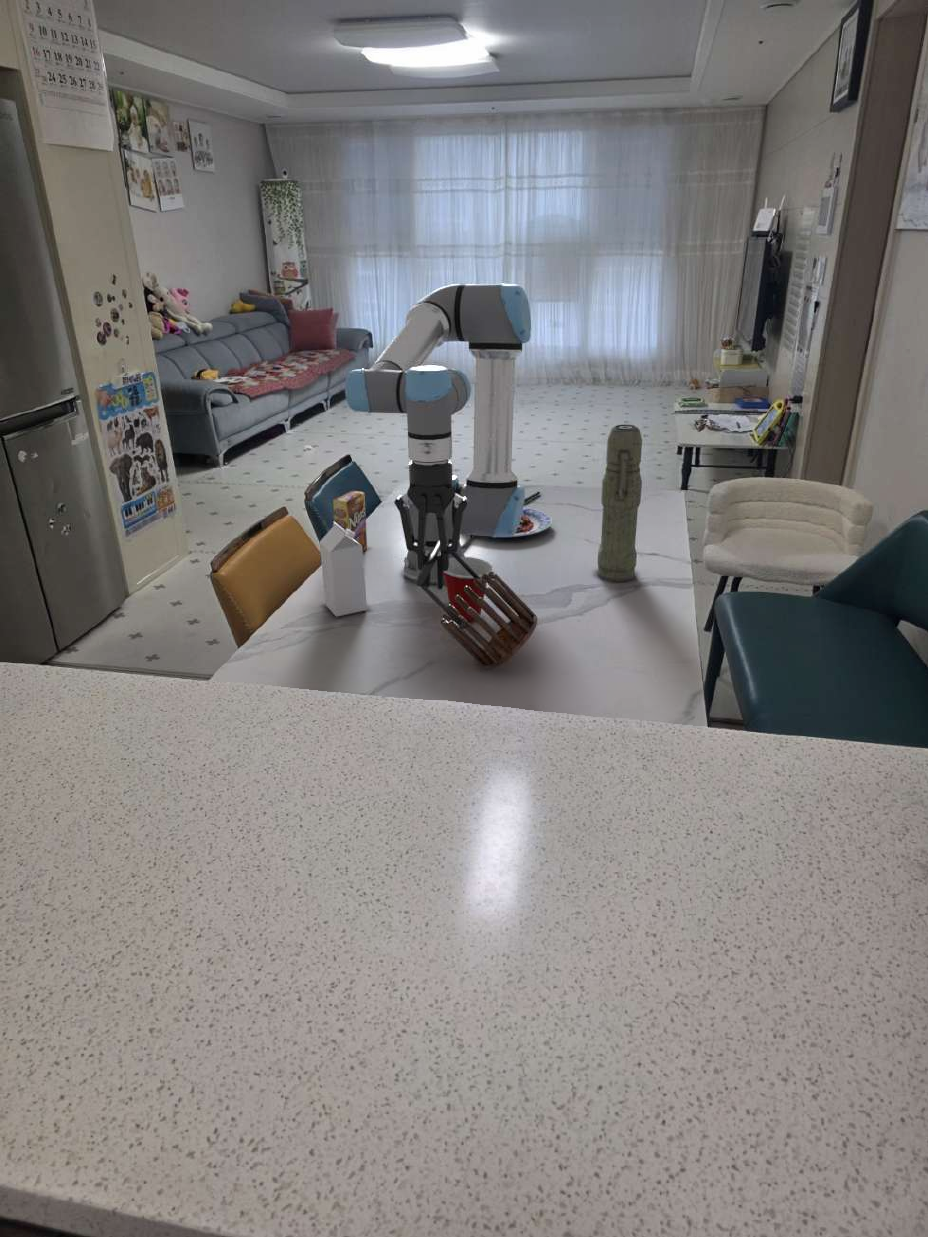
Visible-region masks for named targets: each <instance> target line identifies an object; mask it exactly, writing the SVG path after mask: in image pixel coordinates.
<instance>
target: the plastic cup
mask: <svg viewBox="0 0 928 1237" xmlns="http://www.w3.org/2000/svg"><path fill="white" fill-rule="evenodd" d="M461 558H462V559H463V560H464V561H465V562H466V563H467V565H468V566H469V567H470V568H471V569H472V570H473V571H474V572H475V573H476V574H477V575H478V576H479V577H480V578H481V579H483V578H482V575H483V574H484V573H487V574H488V573H489V572H490V571H493V565H492V564H490V563H489V561H485V560H483V559H482V558H477V557H471V556H465V557H461ZM444 578H445V582H446V583H445V586H446V593H447V597H448V598H447V599H448V603H449V605H452V606H453V607H454V608H455V609H456V610H457V611H458V612H459V613H460V614H461V615H462V616H463V617H464V618H465V619H466V620H467V621H468V622H469V623H474V622H476V621H475V620H474V619H473V618H472V617H471V616H470V615H469V614H468V613H467V612H466V611H465V610H464V609H463V608H462V606H461V605H460V604H459V603H458V602H457V601H456V600H455V596H456V595H459V596H460V597H461V598H462V599H463V600H464V601H465V602H466V603H467V604H468V605H469V606H470V607H471V608H473V609H474V610H475V611H476V612H477V613H478V614H479V615H480V616H481V614H482V608H481V607H480V606H479V605H478V604H477V603H476V602H475V601H474V600H473V599H472V598H471V597H470V596H469V595H468V594H467V593H466V592H465V591H464V587H465V586H469V587H470V588H471V589H472V590H473V591H474V592H475V593H476V594H477V595H478V596H479V597H481V598H483V599H484V598H485V594H484V593H483V592H482V591H481V590H480V589H479V588H478V587H477V586H476V585H475V584H474V578H473V577H472V575H471V574H470V573H469V572H468V571H467V570H466V569H465V568H464V567H463V566H462V565H461V564H460V563H459V562H458V561H457V560H456V559H455V558H450V559H449V568H448V570H447V571H444ZM483 580H484V579H483ZM484 581H485V580H484ZM487 584H488V583H487V582H486V581H485V586H486V587H487ZM484 600H485V599H484Z"/></svg>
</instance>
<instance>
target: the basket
mask: <svg viewBox="0 0 928 1237" xmlns="http://www.w3.org/2000/svg"><path fill="white" fill-rule="evenodd" d="M439 551H441V549H440V541H439V540H438V542H437V544H436V546H435V548H434V549H433V551H432V553H431V555H430V557H429V558H428V560H427V562H426V564H425V566H424V567H423V569H422V571H421V573H420V575H419V576H418V578H417V580H416V582H415V586H416V587H419V588H420V589H422V591H424V593H426V595H427V596H429V597H430V599H431V600H432V601H433V602H435V604H436V605H438V607H439V608H441V610H443V613H442V614H441V619H440V621H439V623H440V625H441V627H442V628H443V629H444V630H445V631H446V632H447V633H448V634H449V635H450V636H451V637H452V638H453V639H454V640H455V641H456V642H457V643H458V644H459V645H460V646H461V647H462V648H463V649H464V650H465V651H466V652H467V653H468V654H470V656H471V657H472V658H473V659H474V660H475V661H476V662H477V663H478V664H479V665H480V666H481V667H483V669H487V670H489V669H493V668H496V667H498V666H500V665H502V664H503V663H505V662H506V661H508V660H509V659H511V658H512V657H513V656H514V655H515V654H516V653H517V652H518V651H519V650H520V649H522V647H524V645H525V644H526V643H527V642H528V640H530V638H531V636H532V635H533V633H534V631H535V630H536V627H537V625H538V616H537V615H536V614H535V612H534V611H533V610H531V608H530V607H529V606H528V605H527V604H526V602H524V601H523V600H522V599H521V598H520V597H519V596H518V595H517V594H516V593H515V591H514V590H513V589H512V588H510V586H509V585H508V584H507V583H506V582H505V581H504V580H503V579H502V578H501V577H500V576H499V575H498V573H495V571H494V570H492V571H490V572H489V573H488V574H487V573H484V574H483V575H482V578H483V579H484V580H485V581H486V582H487V583H486V584H487V585H488V586H489V587H487V585H486V586H485V581H484V580H483V579H481V578H480V577H479V576H478V575H477V574H476V573H475V572H474V571H473V570H472V569H471V568H470V567H469V566H468V565H467V563H466V562H465V561H464V560H463V559H462V558H461V557H460V556H459V555H458V554H457V553H456V552H451V553H450V554H451V555H452V556H453V557H454V558H455V559H456V560H457V561H458V562H459V563H460V564H461V565H462V566H463V567H464V568H465V569H466V570H467V571H468V572H469V573H470V574H471V575H472V577H473V578H474V584H475V585H476V586H477V587H478V588H479V589H480V590H481V591H482V592H483V593H484V596H486V597H487V599H489V601H490V602H492V604H493V605H494V606H495V607H496V608H497V609H498V610H499V611H500V612H501V613H502V614H503V615H504V616H505V617H506V618H507V619H508V620H509V621H508V622H506V620H505V619H504V618H503V617H502V616H500V614H499V613H498V612H497V611H496V610H495V609H494V608H493V607H492V606H491V605H490V604H489V603H488V602H487V601H486V600H485V599H483V598H481V597H479V596H478V595H477V594H476V593H475V592H474V591H473V590H472V589H471V588H470V587H469V586H465V587H464V591H465V592H466V593H467V594H468V595H469V596H470V597H471V598H472V599H473V600H474V601H475V602H476V603H477V604H478V605H479V606H480V607H481V610H482V611H483V612H484V613H485V614H486V615H487V616H488V617H489V618H490V619H491V620H492V621H493V622H494V623H495V624H496V625H497V626H498V627H499V628H500V629H499V630H497V631H496V630H495V629H494V628H493V627H492V626H491V625H490V624H489V623H488V622H487V621H486V620H485V619H484V618H483V617H482V616H481V614H480V615H479V614H478V613H477V612H476V611H475V610H474V609H473V608H471V607H470V606H469V605H468V604H467V603H466V602H465V601H464V600H463V599H462V598H461V597H460V596H459V595H456V596H455V600H456V601H457V602H458V603H459V604H460V605H461V606H462V608H463V609H464V610H465V611H466V612H467V613H468V614H469V615H470V616H471V617H472V618H473V619H474V620H475V621H474V622H476V623H477V624H478V625H479V626H480V627H481V629H483V630H484V631H485V632H486V633H487V635H489V637H491V639H489V641H488V640H487V639H486V638H485V637H484V636H483V635H482V634H481V633H480V632H479V631H478V630H477V629H476V628H475V627H474V625H472V623H471V622H468V621H467V620H466V619H465V618H464V617H463V616H462V615H461V614H460V613H459V612H458V611H457V610H456V609H455V608H454V607H453V606H452V605H450V604H448V605H447V604H445V603H444V602H443V601H442V600H441V599H440V598H439V597H438V596H437V595H436V594H435V593H434V592H433V591H432V590H431V589H430V587H429V588H428V587H427V586H426V585H425V584H424V582H425V580H426V578H427V577H428V575H429V573H430V571H431V569H432V567H433V565H434V564H435V562H436V560H437V555H438V552H439ZM465 630H466V631H467V632H466V631H465ZM468 633H469V634H468ZM470 635H471V636H472V637H473V638H472V637H471V636H470ZM474 639H475V640H476V641H475V640H474ZM477 642H478V643H477ZM479 644H480V645H479ZM483 648H484V649H483Z"/></svg>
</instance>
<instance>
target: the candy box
mask: <svg viewBox="0 0 928 1237" xmlns="http://www.w3.org/2000/svg"><path fill="white" fill-rule="evenodd" d="M365 498H366V496H365V492H363V491H357V490H351V491H349V492H347V493H344V494H343V495H341V496H338V497H336V498H334V499H333V500H332V503H333V517H334V518H333V519H334V520H333V521H334V522H336V523H337V524H338V525H339V526H340V527H342V528H343V529H344V530H345V531H346V529H349V530H350V531H352V532H353V533H355V536H354V538H353V539H354V540H355V541H357V542H358V543H359V544H360V545H361V546H362V550H363V551H365V550H367V549H368V540H367V539H368V537H367V521H366V520H367V519H366V518H367V517H366V516H367V515H366V501H365Z"/></svg>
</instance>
